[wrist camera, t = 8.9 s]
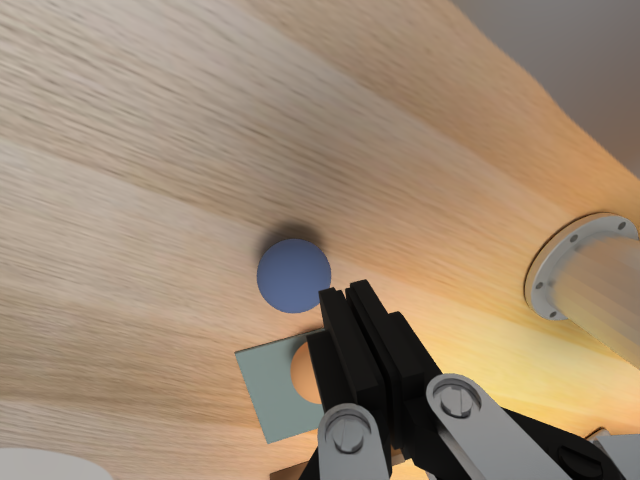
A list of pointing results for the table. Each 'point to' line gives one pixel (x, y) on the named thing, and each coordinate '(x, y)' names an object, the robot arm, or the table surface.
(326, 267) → the blue ball
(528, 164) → the table surface
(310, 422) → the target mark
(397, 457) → the rail
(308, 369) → the orange ball
